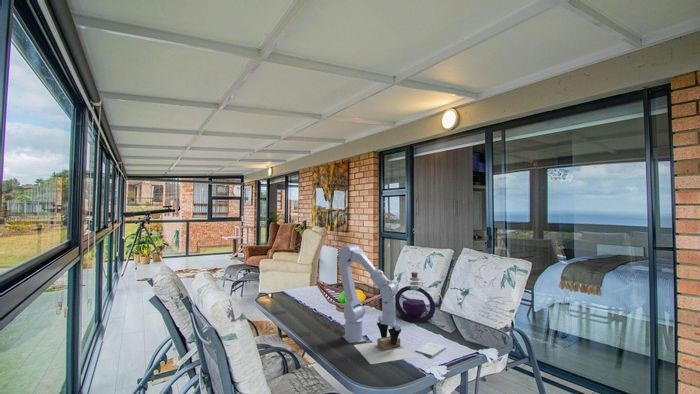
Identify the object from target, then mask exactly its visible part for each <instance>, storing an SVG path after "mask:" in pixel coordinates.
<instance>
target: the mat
mask: <svg viewBox="0 0 700 394" xmlns="http://www.w3.org/2000/svg"><path fill="white" fill-rule="evenodd" d="M353 346H354V347H355V349H356V350H357V351H358V352H359V353H360V354H361V356H363V357H364V359H365V360H366V361H367V362H368V363H369V364H370V365H376V364H380V363H382V364H383V363H388V362H394V361H400V360H406V359H412V358H416V356H415V355H414V354H413V353H411V352H410V350H408V349H406V348H405V347H404V346H403V345H401V344H400V347H396V348H392V349H388V350H381V349H380V348H378V347H377V341H375V342H367V343H359V344H354V345H353Z"/></svg>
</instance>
